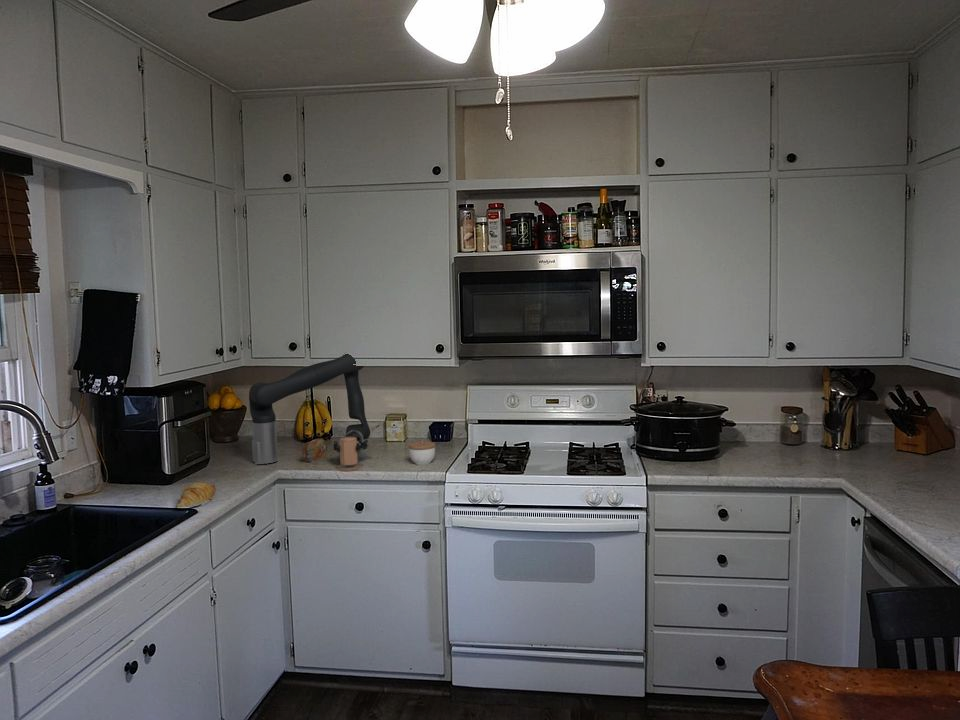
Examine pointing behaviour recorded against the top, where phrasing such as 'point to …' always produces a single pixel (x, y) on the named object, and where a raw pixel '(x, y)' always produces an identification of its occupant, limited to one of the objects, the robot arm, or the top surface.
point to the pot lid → (349, 467)
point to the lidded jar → (422, 452)
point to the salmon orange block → (348, 450)
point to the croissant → (196, 494)
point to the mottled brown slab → (314, 450)
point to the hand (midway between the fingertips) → (347, 449)
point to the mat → (360, 457)
